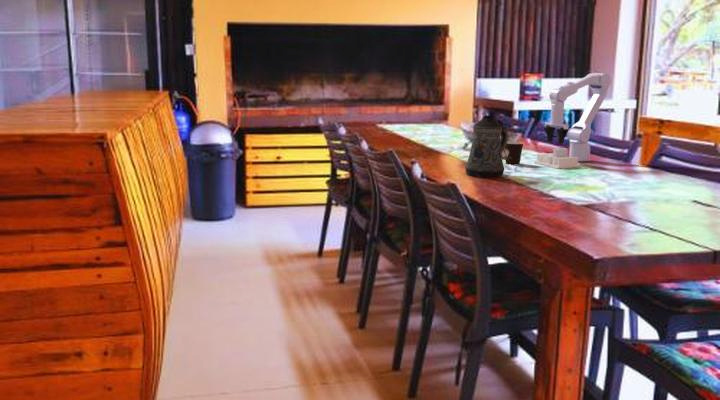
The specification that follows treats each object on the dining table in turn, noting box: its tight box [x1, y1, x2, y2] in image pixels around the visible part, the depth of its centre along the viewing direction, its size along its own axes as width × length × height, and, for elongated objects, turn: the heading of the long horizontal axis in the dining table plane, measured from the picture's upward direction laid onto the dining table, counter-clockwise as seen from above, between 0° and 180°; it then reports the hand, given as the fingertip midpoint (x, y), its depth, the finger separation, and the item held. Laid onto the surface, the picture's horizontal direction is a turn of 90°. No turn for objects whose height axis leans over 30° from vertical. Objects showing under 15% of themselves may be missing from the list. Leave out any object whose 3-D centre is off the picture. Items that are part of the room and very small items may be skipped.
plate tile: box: [552, 147, 569, 157], centre depth 313 cm, size 7×2×7 cm, turn 114°
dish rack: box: [534, 152, 581, 170], centre depth 315 cm, size 13×16×4 cm
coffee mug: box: [504, 141, 524, 166], centre depth 319 cm, size 12×9×10 cm
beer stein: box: [464, 115, 509, 179], centre depth 288 cm, size 16×19×25 cm
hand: (555, 142), depth 323 cm, fingers open, 7 cm apart
